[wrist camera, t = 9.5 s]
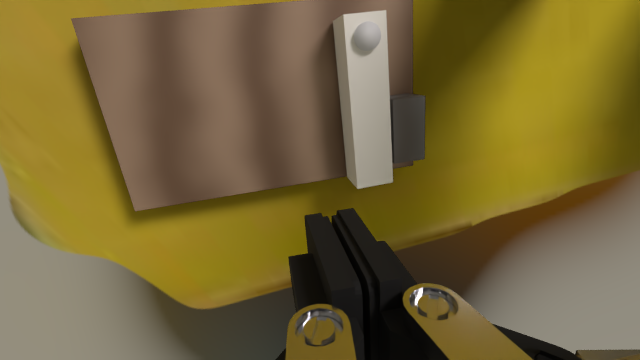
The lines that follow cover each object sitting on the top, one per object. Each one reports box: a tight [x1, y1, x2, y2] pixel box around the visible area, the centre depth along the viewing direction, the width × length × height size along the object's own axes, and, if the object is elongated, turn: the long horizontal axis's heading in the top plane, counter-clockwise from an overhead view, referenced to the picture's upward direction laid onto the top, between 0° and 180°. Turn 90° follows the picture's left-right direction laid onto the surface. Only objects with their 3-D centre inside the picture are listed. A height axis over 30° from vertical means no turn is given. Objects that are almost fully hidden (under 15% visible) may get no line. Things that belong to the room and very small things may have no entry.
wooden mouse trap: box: [71, 0, 425, 211], centre depth 25 cm, size 24×14×6 cm, turn 96°
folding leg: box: [333, 10, 393, 189], centre depth 25 cm, size 12×3×3 cm, turn 7°
